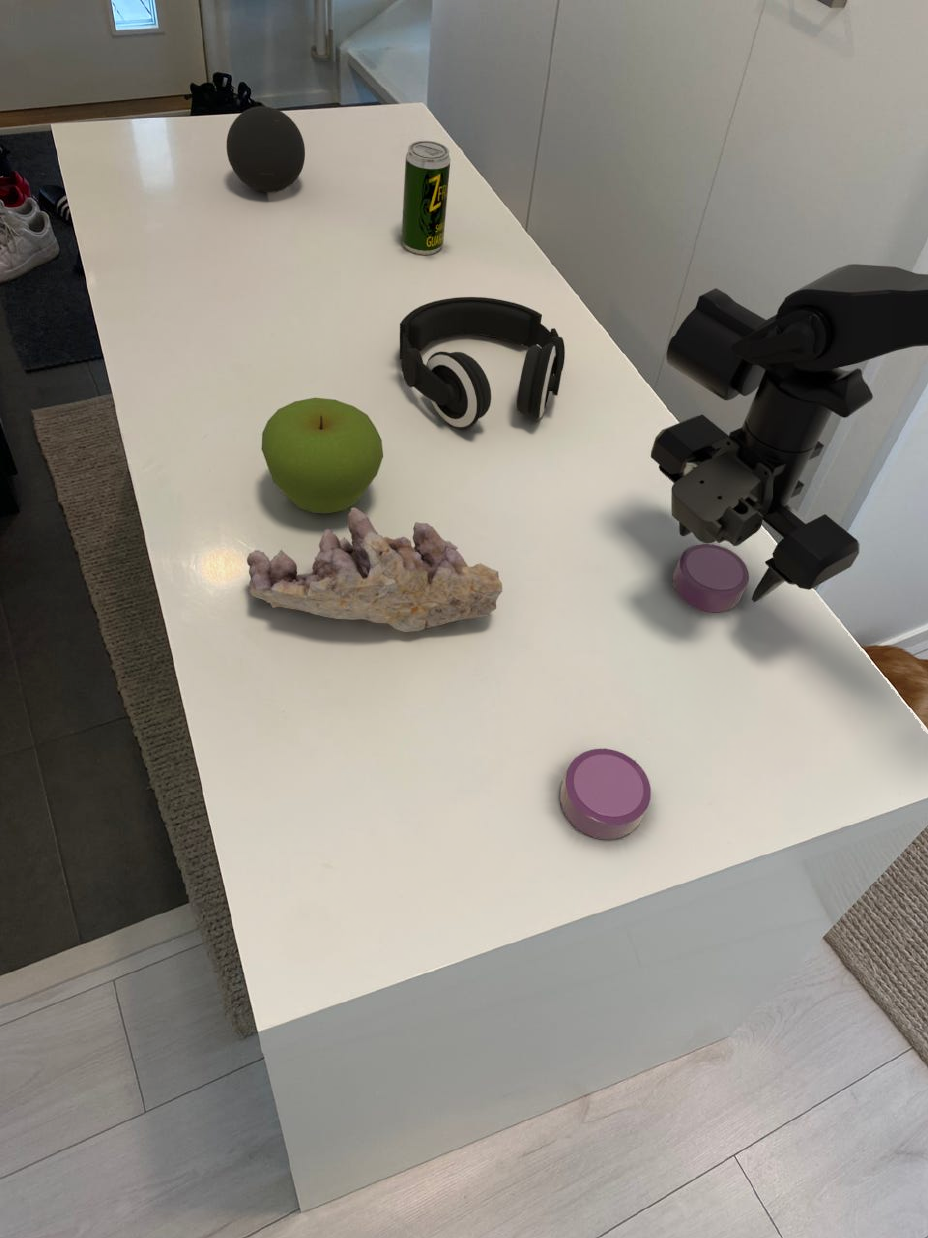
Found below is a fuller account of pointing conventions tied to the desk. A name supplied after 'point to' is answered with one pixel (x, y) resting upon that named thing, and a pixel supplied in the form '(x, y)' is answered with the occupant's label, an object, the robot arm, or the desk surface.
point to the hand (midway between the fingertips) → (719, 565)
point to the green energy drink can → (425, 197)
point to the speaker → (265, 149)
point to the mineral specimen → (379, 579)
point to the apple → (322, 453)
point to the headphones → (458, 376)
